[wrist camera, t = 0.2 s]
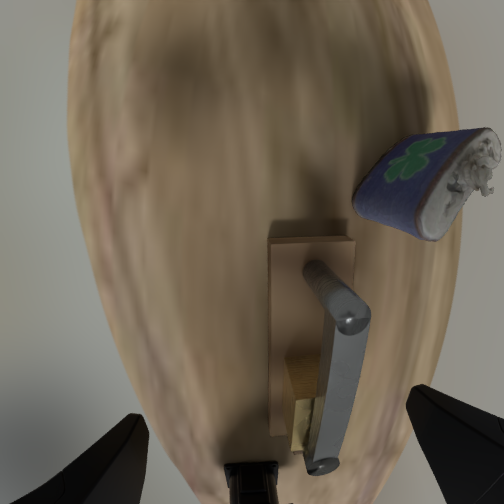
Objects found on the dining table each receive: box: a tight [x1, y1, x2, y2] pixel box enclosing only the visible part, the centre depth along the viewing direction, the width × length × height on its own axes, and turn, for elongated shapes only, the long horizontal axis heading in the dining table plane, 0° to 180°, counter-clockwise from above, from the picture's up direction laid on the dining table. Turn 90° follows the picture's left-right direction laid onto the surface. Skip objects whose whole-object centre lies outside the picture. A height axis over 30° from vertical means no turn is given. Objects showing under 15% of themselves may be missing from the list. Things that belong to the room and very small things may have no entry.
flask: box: [352, 127, 501, 242], centre depth 15 cm, size 9×3×11 cm, turn 134°
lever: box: [302, 260, 371, 476], centre depth 18 cm, size 15×2×7 cm, turn 2°
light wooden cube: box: [282, 354, 321, 451], centre depth 20 cm, size 6×4×5 cm, turn 2°
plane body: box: [267, 236, 356, 455], centre depth 21 cm, size 19×6×5 cm, turn 2°
